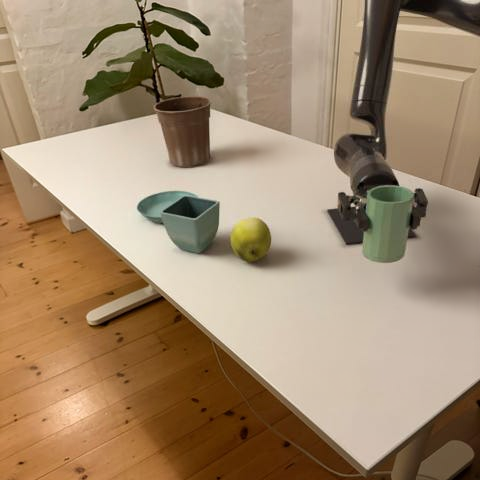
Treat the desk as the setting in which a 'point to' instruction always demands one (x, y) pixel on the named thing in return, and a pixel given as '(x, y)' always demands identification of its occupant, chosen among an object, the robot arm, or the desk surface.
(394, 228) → the cup
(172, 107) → the plant pot
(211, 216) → the flower pot
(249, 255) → the apple
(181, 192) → the saucer
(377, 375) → the desk surface
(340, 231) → the mat
